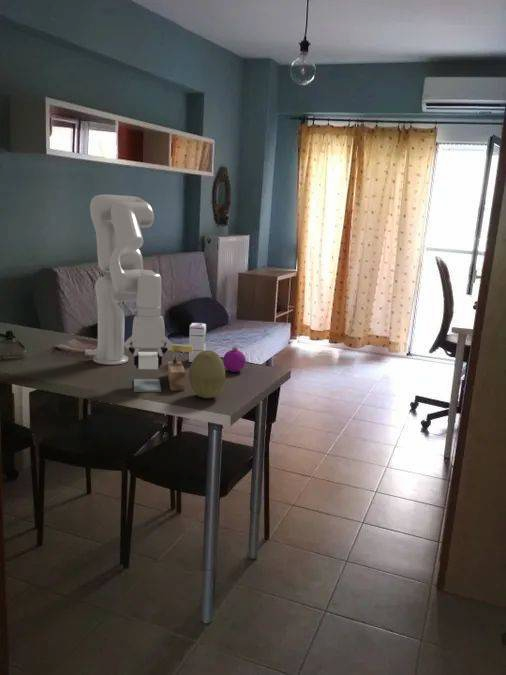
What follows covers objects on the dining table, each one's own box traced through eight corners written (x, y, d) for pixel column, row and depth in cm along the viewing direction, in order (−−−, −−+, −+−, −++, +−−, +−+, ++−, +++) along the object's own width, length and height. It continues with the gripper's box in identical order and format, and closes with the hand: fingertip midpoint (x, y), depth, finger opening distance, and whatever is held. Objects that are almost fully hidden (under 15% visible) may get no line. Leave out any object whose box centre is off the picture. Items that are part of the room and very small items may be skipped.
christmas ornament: (222, 368, 219) (223, 341, 217) (244, 368, 220) (245, 342, 218) (222, 374, 211) (224, 347, 209) (245, 375, 212) (247, 347, 210)
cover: (138, 369, 184) (138, 359, 183) (138, 361, 194) (138, 351, 193) (158, 369, 185) (158, 359, 185) (156, 361, 195) (157, 351, 194)
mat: (133, 391, 185) (134, 390, 185) (133, 380, 197) (133, 379, 196) (161, 391, 187) (161, 390, 187) (159, 380, 198) (159, 379, 198)
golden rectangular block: (191, 365, 200) (192, 346, 199) (165, 362, 201) (166, 344, 200) (192, 363, 202) (193, 345, 201) (167, 361, 203) (167, 343, 202)
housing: (170, 390, 189) (171, 372, 188) (167, 375, 206) (168, 358, 204) (184, 390, 190) (185, 372, 188) (180, 375, 206) (180, 358, 205)
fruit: (181, 398, 181) (183, 351, 178) (197, 389, 192) (199, 344, 188) (215, 405, 177) (217, 356, 174) (230, 395, 188) (232, 349, 185)
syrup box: (203, 363, 223) (205, 326, 220) (188, 362, 223) (189, 325, 220) (205, 360, 229) (206, 323, 226) (190, 359, 229) (191, 322, 226)
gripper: (120, 313, 181) (120, 370, 185) (177, 314, 185) (175, 370, 188) (121, 309, 188) (120, 364, 192) (175, 310, 192) (174, 364, 195)
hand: (147, 366), depth 190 cm, fingers closed on cover, 6 cm apart
